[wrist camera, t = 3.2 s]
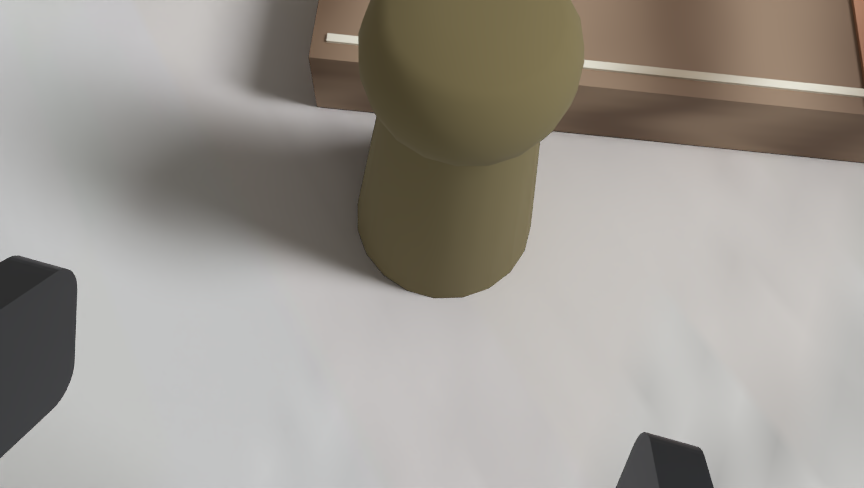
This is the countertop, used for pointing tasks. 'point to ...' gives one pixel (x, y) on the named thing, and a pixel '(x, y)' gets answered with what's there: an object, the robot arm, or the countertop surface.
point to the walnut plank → (681, 72)
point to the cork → (459, 133)
